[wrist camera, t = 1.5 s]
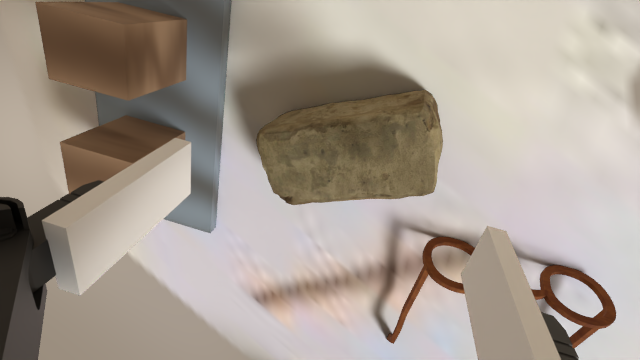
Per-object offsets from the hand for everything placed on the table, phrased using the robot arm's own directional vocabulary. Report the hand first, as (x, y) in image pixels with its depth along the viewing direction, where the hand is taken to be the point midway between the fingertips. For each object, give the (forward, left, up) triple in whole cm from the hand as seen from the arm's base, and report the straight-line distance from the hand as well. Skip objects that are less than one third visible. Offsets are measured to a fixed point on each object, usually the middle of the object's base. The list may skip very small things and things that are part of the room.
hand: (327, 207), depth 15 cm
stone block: (-1, 0, -11) cm, 11 cm away
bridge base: (-1, +15, -11) cm, 19 cm away
